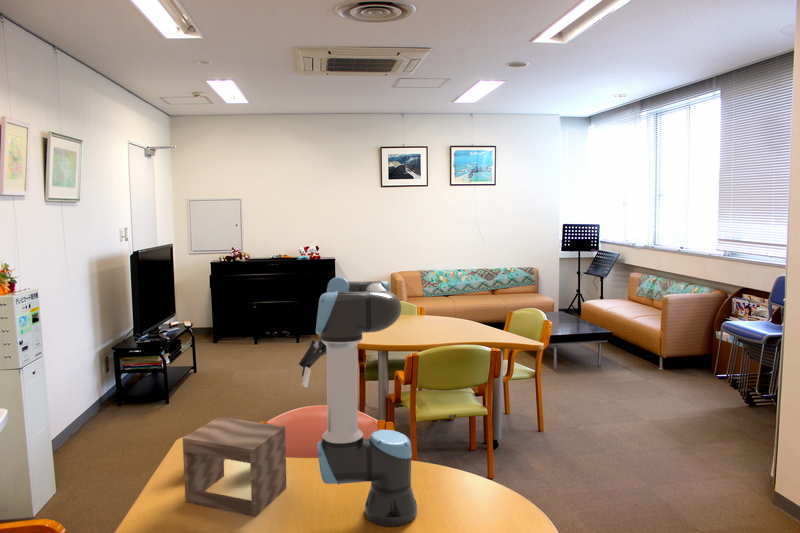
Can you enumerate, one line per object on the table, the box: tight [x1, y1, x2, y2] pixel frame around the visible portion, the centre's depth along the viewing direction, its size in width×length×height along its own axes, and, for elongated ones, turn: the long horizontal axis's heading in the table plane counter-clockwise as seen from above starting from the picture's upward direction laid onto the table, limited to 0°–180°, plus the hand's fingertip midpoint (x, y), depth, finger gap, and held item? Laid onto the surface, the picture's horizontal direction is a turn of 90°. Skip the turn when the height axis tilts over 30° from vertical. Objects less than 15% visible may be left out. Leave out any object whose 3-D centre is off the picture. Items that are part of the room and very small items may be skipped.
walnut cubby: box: [182, 416, 287, 518], centre depth 167 cm, size 17×24×20 cm
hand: (321, 386), depth 186 cm, fingers open, 13 cm apart
